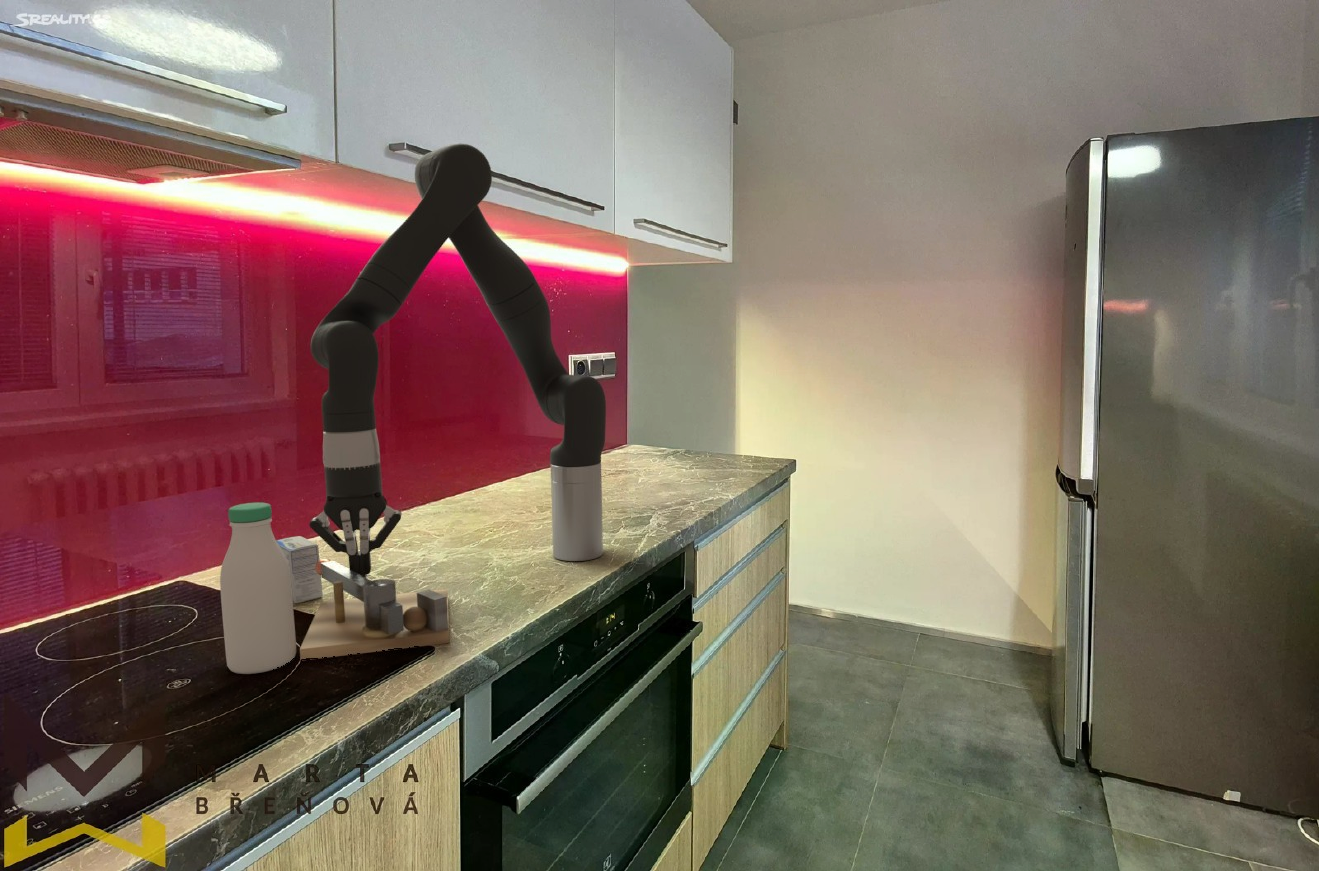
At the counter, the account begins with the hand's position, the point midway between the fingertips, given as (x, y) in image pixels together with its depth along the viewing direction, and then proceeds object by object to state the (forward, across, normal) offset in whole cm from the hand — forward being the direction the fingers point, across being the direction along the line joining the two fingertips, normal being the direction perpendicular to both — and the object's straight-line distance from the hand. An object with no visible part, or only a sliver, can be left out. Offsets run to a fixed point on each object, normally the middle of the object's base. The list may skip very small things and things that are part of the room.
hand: (360, 577), depth 110 cm
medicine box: (+6, +10, -11) cm, 16 cm away
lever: (+3, 0, +6) cm, 6 cm away
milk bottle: (+5, +10, +15) cm, 19 cm away
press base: (+5, -3, +7) cm, 9 cm away
